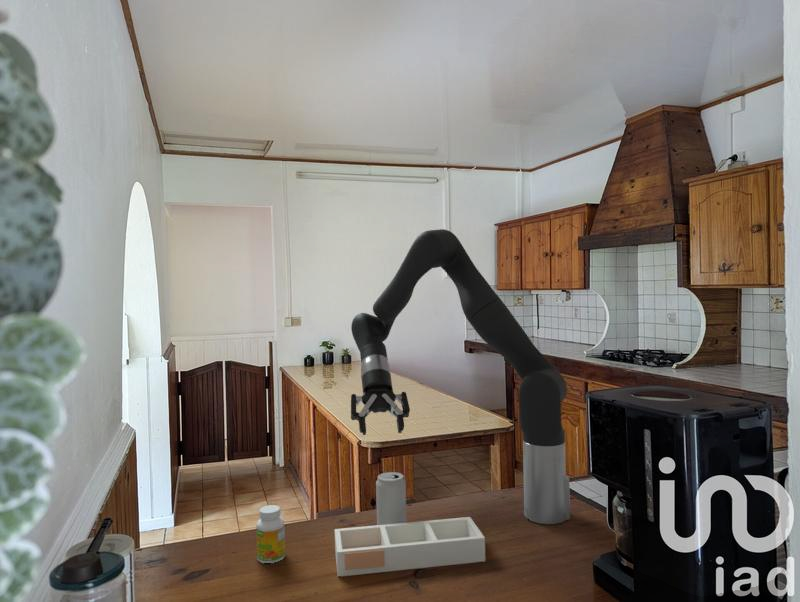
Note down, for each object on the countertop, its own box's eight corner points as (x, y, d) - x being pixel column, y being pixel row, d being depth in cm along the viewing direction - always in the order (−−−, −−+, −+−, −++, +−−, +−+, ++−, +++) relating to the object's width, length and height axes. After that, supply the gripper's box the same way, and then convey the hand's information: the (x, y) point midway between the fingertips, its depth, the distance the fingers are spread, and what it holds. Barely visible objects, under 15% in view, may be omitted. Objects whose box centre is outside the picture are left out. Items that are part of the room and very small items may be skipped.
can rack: (470, 538, 116) (470, 516, 116) (486, 562, 106) (485, 538, 106) (335, 551, 111) (334, 529, 111) (337, 577, 101) (337, 553, 101)
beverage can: (406, 537, 117) (405, 480, 117) (376, 537, 117) (374, 481, 117) (406, 524, 123) (405, 470, 123) (378, 524, 124) (376, 471, 123)
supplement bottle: (251, 562, 108) (250, 512, 108) (267, 549, 113) (265, 502, 113) (275, 566, 106) (274, 515, 106) (290, 553, 111) (289, 505, 111)
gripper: (348, 368, 139) (353, 425, 128) (405, 366, 141) (414, 422, 130) (347, 386, 144) (351, 442, 133) (402, 383, 147) (410, 438, 136)
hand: (382, 432), depth 132 cm, fingers open, 8 cm apart
